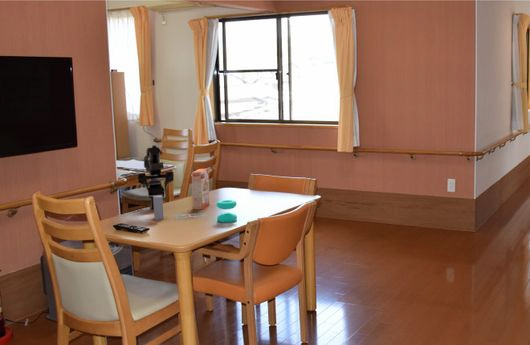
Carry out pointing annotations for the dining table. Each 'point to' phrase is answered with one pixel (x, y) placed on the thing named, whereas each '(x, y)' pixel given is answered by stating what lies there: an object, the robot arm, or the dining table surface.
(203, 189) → the cracker box
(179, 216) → the board
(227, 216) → the donuts
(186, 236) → the dining table surface
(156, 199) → the grey-blue tall block
